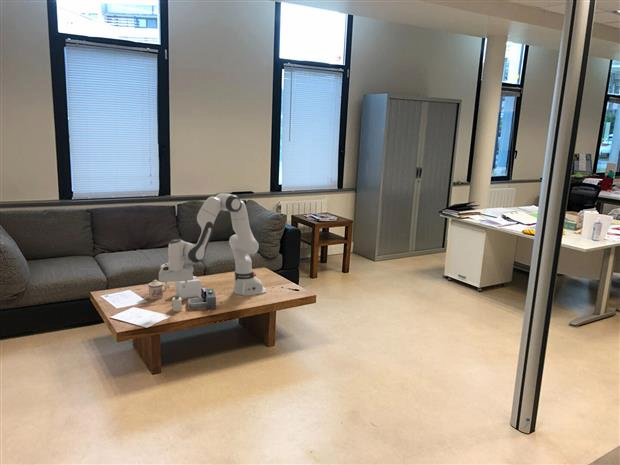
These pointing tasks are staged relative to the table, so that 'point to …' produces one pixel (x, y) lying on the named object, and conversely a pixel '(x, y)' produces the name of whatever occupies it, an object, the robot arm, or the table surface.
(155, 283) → the teacup with lid
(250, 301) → the table surface
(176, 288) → the cable organizer
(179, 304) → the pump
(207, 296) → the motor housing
